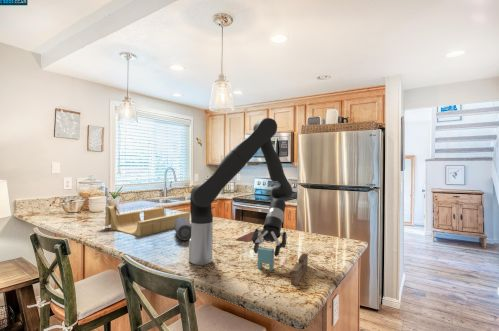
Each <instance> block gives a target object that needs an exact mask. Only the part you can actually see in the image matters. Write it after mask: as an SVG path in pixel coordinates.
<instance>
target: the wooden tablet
mask: <svg viewBox="0 0 499 331" xmlns="http://www.w3.org/2000/svg"><path fill="white" fill-rule="evenodd" d="M260 230H261V231H262V230H263V229H260ZM254 232H255V230H253V231H251V232H249V233H246V234H244V235H242V236H239V237H238V238H236V239H235V241H238V242H244V243H250V242H252V237H253V235H254ZM261 235H262V234H260V235H258V238H259V237H260V236H261ZM258 238H257V239H258Z"/></svg>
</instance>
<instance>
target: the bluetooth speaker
mask: <svg viewBox="0 0 499 331" xmlns="http://www.w3.org/2000/svg"><path fill="white" fill-rule="evenodd" d="M174 231H175V233H176V236H177V237H178V238H179V239H180V240H181V241H187V240H188V241H189V240H190V239H191V221H190V222H189V221H188V220H187V219H186V218H184V217H180V218H178V219H177V220H176V221H175V228H174Z"/></svg>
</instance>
